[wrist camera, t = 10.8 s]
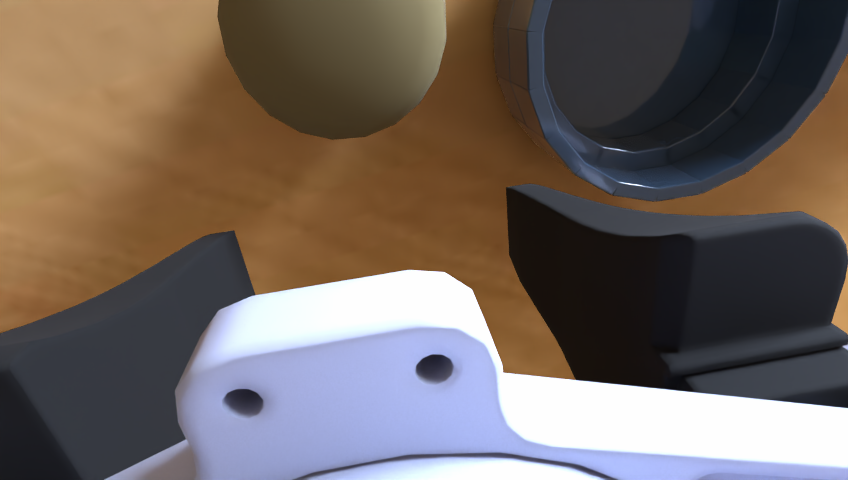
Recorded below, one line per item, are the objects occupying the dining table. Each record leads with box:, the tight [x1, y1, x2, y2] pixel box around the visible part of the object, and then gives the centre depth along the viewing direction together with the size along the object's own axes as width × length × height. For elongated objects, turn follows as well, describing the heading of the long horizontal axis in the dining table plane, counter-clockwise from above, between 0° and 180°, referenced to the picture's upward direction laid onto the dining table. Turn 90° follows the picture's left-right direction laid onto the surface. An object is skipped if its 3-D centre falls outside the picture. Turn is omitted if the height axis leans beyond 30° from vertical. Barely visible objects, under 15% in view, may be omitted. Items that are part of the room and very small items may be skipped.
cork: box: [218, 0, 446, 140], centre depth 15 cm, size 6×6×11 cm
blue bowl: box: [493, 0, 848, 202], centre depth 19 cm, size 12×12×5 cm
